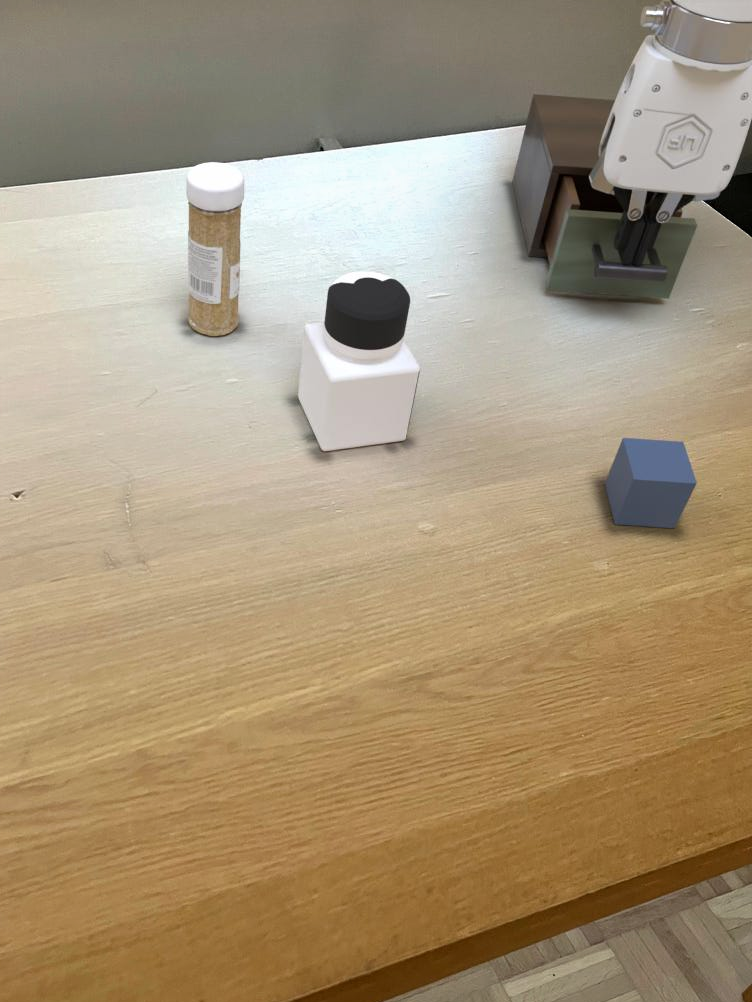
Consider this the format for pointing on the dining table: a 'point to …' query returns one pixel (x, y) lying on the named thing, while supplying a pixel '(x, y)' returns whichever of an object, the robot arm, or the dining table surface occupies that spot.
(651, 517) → the block
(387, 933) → the dining table surface
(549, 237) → the drawer
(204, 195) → the spice jar
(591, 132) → the cabinet
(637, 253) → the robot arm
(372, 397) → the medicine bottle
